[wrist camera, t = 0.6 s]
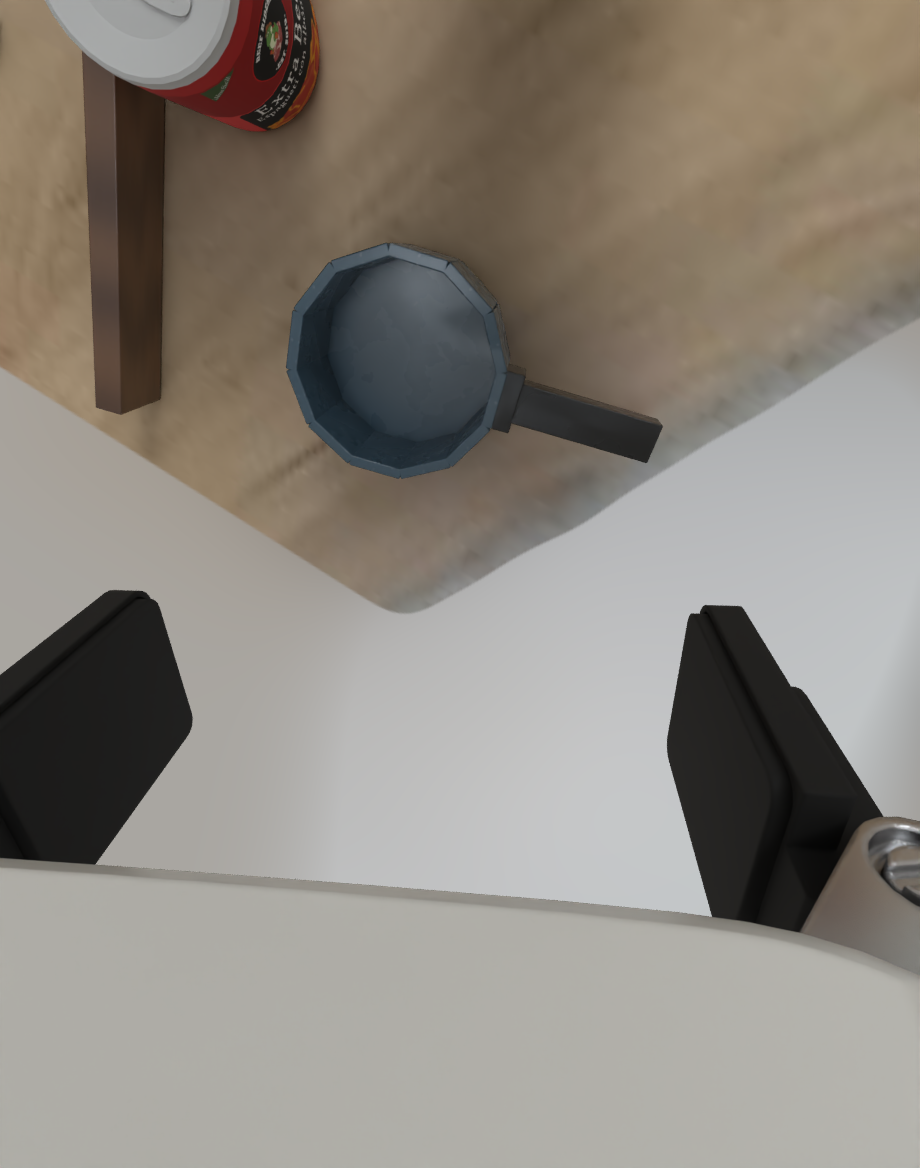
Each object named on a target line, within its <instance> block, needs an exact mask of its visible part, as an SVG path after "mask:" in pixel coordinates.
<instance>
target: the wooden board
mask: <svg viewBox="0 0 920 1168" xmlns="http://www.w3.org/2000/svg"><path fill="white" fill-rule="evenodd" d="M82 60H83V86H84V111H85V137H86V163H87V189H88V215H89V241H90V266H91V292H92V318H93V344H94V370H95V395H96V407H97V408H99V409H103V410H106V411H110V412H113V413H117V414H120V415H122V414H124V413H127V412H129V411H132V410H134V409H137V408H139V407H142V406H145V405H147V404H150V403H152V402H155V401H157V400H160V381H161V311H162V241H163V171H164V101H165V98H163V97H160V96H158V95H156V94H153V93H151V92H148V91H146V90H144V89H142V88H140V87H138V86H136V85H133V84H131V83H129V82H127V81H125V80H123V79H121V78H119V77H117V76H115V75H114V74H112V73H111V72H110V71H108V70H106V69H105V68H103V67H102V66H101V65H99V64H98V63H97V62H95V61H94V60H93V59H91V58H90V57H89V56H87V55H86V54H85V53H84V52H83V51H82Z"/></svg>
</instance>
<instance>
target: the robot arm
mask: <svg viewBox="0 0 920 1168" xmlns="http://www.w3.org/2000/svg"><path fill="white" fill-rule="evenodd" d="M191 727H192V713H191V709H190V706H189V703H188V699H187V696H186V693H185V689H184V687H183V683H182V680H181V676H180V673H179V670H178V666H177V663H176V660H175V657H174V654H173V650H172V647H171V644H170V640H169V637H168V634H167V630H166V628H165V624H164V620H163V617H162V614H161V611H160V607H159V606H158V603H157V602H156V601H155V600H153V599H150V597H149V595H148V594H147V593H145V592H143V591H123V590H110V591H108V592H106V593H104V594H103V595H102V596H100V597H99V598H98V599H97V600H95V601H94V602H93V603H92V604H90V605H89V606H88V607H86V608H85V609H84V610H82V611H81V612H80V613H79V614H77V615H76V616H75V617H74V618H72V619H71V620H70V621H68V622H67V623H66V624H65V625H63V626H62V627H61V628H60V629H58V630H57V631H56V632H54V633H53V634H52V635H51V636H49V637H48V638H47V639H46V640H44V641H43V642H42V643H40V644H39V645H38V646H37V647H35V648H34V649H33V650H32V651H30V652H29V653H28V654H26V655H25V656H24V657H22V658H21V659H20V660H19V661H17V662H16V663H15V664H14V665H12V666H11V667H10V668H9V669H7V670H6V671H5V672H3V673H2V674H1V675H0V1168H920V821H916V820H911V819H906V818H901V817H883V815H882V814H881V812H880V810H879V809H878V807H877V806H876V804H875V802H874V801H873V799H872V798H871V796H870V795H869V793H868V791H867V790H866V788H865V787H864V785H863V784H862V782H861V780H860V779H859V777H858V776H857V774H856V773H855V771H854V770H853V768H852V766H851V765H850V763H849V762H848V760H847V758H846V757H845V755H844V754H843V752H842V750H841V749H840V747H839V746H838V744H837V743H836V741H835V740H834V738H833V736H832V735H831V733H830V732H829V730H828V728H827V727H826V725H825V724H824V722H823V721H822V719H821V718H820V716H819V714H818V713H817V711H816V710H815V708H814V707H813V705H812V703H811V702H810V700H809V699H808V697H807V695H806V694H805V693H804V692H803V691H802V690H801V689H799V688H797V687H791V686H790V684H789V683H788V681H787V679H786V678H785V676H784V674H783V673H782V671H781V670H780V668H779V666H778V664H777V663H776V661H775V660H774V658H773V656H772V655H771V653H770V651H769V650H768V648H767V647H766V645H765V643H764V642H763V640H762V638H761V637H760V635H759V634H758V632H757V630H756V628H755V627H754V625H753V624H752V622H751V621H750V619H749V617H748V615H747V614H746V612H745V611H744V609H743V608H742V607H740V606H716V605H705V606H703V607H702V609H701V611H700V614H690V616H689V619H688V622H687V628H686V634H685V640H684V645H683V651H682V657H681V663H680V669H679V674H678V679H677V685H676V691H675V697H674V702H673V708H672V714H671V720H670V725H669V731H668V737H667V753H668V758H669V763H670V766H671V770H672V773H673V777H674V781H675V784H676V788H677V791H678V795H679V798H680V802H681V806H682V810H683V813H684V817H685V821H686V824H687V828H688V831H689V835H690V838H691V842H692V846H693V849H694V852H695V856H696V860H697V864H698V867H699V871H700V875H701V878H702V882H703V885H704V889H705V893H706V896H707V900H708V904H709V907H710V911H711V914H712V917H709V916H701V915H694V914H687V913H679V912H669V911H660V910H659V911H658V910H649V909H639V908H629V907H619V906H609V905H598V904H588V903H578V902H568V901H558V900H546V899H534V898H521V897H509V896H496V895H484V894H472V893H460V892H448V891H436V890H423V889H410V888H399V887H386V886H374V885H362V884H349V883H335V882H322V881H309V880H296V879H283V878H270V877H257V876H243V875H230V874H217V873H203V872H190V871H176V870H163V869H149V868H135V867H121V866H105V865H95V864H96V863H97V861H98V860H99V858H100V857H101V856H102V854H103V853H104V852H105V850H106V849H107V847H108V846H109V845H110V843H111V842H112V840H113V839H114V838H115V836H116V835H117V833H118V832H119V831H120V829H121V828H122V827H123V825H124V824H125V822H126V821H127V820H128V818H129V817H130V815H131V814H132V813H133V811H134V810H135V808H136V807H137V806H138V804H139V803H140V801H141V800H142V799H143V797H144V796H145V794H146V793H147V792H148V790H149V789H150V788H151V786H152V785H153V783H154V782H155V781H156V779H157V778H158V776H159V775H160V774H161V772H162V771H163V769H164V768H165V767H166V765H167V764H168V763H169V761H170V760H171V758H172V757H173V755H174V754H175V753H176V751H177V750H178V749H179V747H180V746H181V744H182V743H183V742H184V740H185V739H186V737H187V736H188V734H189V733H190V730H191Z"/></svg>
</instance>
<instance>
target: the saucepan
mask: <svg viewBox="0 0 920 1168" xmlns="http://www.w3.org/2000/svg"><path fill="white" fill-rule="evenodd" d="M497 302H498V301H497V300H496V299H495V298H494V296H493V295H492V294H491V293H490V292H489V291H488V290H487V288H486V287H485V286H484V284H483V283H482V282H481V281H480V280H479V279H478V278H477V277H476V276H475V275H474V274H473V273H472V271H471V270H470V269H469V268H468V267H467V266H466V265H465V263H464V262H463V261H460V259H457V258H454V257H451V256H447V255H444V254H441V253H438V252H435V251H431V250H428V249H425V248H421V247H418V246H415V245H411V244H400V243H384V244H381V245H377V246H374V247H371V248H368V249H365V250H362V251H359V252H356V253H353V254H349V255H346V256H343V257H340V258H337V259H334V260H332V261H331V262H329V263H328V264H327V265H326V266H325V268H324V269H323V270H322V272H321V273H320V274H319V275H318V277H317V278H316V279H315V281H314V282H313V283H312V285H311V286H310V287H309V289H308V290H307V291H306V292H305V294H304V295H303V296H302V298H301V299H300V300H299V302H298V303H297V304H296V305H295V307H294V309H295V310H293V312H292V320H291V329H290V338H289V347H288V355H287V364H286V368H287V369H289V370H287V374H288V376H289V379H290V381H291V384H292V387H293V389H294V392H295V395H296V397H297V400H298V403H299V405H300V408H301V410H302V413H303V416H304V418H305V421H306V423H307V424H309V428H311V429H312V430H313V431H314V432H315V433H316V434H317V435H318V436H319V437H320V438H321V439H322V440H323V441H324V442H325V443H327V444H328V445H329V446H330V447H331V448H332V449H333V450H334V451H335V452H336V453H337V454H338V455H339V456H340V457H341V458H343V459H344V460H345V461H346V462H347V463H349V462H350V465H353V466H356V467H360V468H363V469H367V470H370V471H374V472H377V473H380V474H384V475H387V476H391V477H394V478H398V479H399V478H400V477H401V479H403V478H408V477H412V476H416V475H421V474H425V473H429V472H434V471H438V470H442V469H447V468H450V466H454V465H455V464H456V463H457V462H458V461H459V460H460V459H461V458H462V457H463V456H464V455H465V454H466V453H467V452H468V451H469V450H470V449H471V448H472V447H474V446H475V445H476V444H477V443H478V442H479V441H480V440H481V439H482V438H483V437H484V436H485V435H486V434H487V433H488V432H489V431H490V428H492V429H495V430H498V431H502V432H505V433H508V432H509V430H510V426H511V423H512V424H516V425H519V426H523V427H526V428H529V429H533V430H536V431H539V432H543V433H546V434H550V435H553V436H556V437H560V438H563V439H567V440H570V441H573V442H577V443H580V444H583V445H587V446H590V447H594V448H597V449H600V450H604V451H607V452H610V453H614V454H617V455H621V456H624V457H627V458H631V459H634V460H638V461H641V462H644V463H647V462H648V460H649V457H650V455H651V453H652V450H653V448H654V446H655V444H656V441H657V439H658V437H659V434H660V432H661V430H662V428H663V426H662V424H661V423H660V422H659V420H658V419H656V418H652V417H649V416H646V415H642V414H639V413H636V412H632V411H629V410H626V409H622V408H619V407H616V406H612V405H609V404H605V403H602V402H599V401H595V400H592V399H589V398H585V397H582V396H579V395H575V394H572V393H569V392H565V391H562V390H559V389H555V388H552V387H549V386H545V385H542V384H539V383H535V382H532V381H529V380H525V378H526V369H525V368H522V367H518V366H515V365H511V364H509V362H510V352H509V347H508V343H507V338H506V332H505V327H504V324H503V320H502V315H501V310H500V306H499V304H497Z"/></svg>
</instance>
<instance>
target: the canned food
mask: <svg viewBox="0 0 920 1168" xmlns="http://www.w3.org/2000/svg"><path fill="white" fill-rule="evenodd" d="M45 1H46V3H47V5H48V7H49V9H50V10H51V12H52V14H53V16H54V17H55V18H56V20H57V21H58V23H59V24H60V25H61V27H62V28H63V29H64V31H65V32H66V33H67V35H68V36H69V37H70V38H71V39H72V40H73V41H74V42H75V44H76V45H77V46H78V47H79V48H80V49H81V50H82V51H83V52H84V53H85V54H86V55H87V56H89V57H90V58H91V59H93V60H94V61H95V62H97V63H98V64H99V65H101V66H102V67H103V68H105V69H106V70H108V71H110V72H111V73H112V74H114V75H115V76H117V77H119V78H121V79H123V80H125V81H127V82H129V83H131V84H133V85H136V86H138V87H140V88H142V89H144V90H146V91H148V92H151V93H153V94H156V95H158V96H160V97H163V98H165V99H168V100H170V101H173V102H175V103H177V104H180V105H182V106H185V107H187V108H190V109H192V110H194V111H197V112H199V113H202V114H204V115H207V116H209V117H211V118H214V119H216V120H219V121H221V122H223V123H226V124H228V125H231V126H233V127H236V128H239V129H243V130H247V131H267V130H271V129H275V128H278V127H280V126H282V125H283V124H285V123H287V122H289V121H290V120H292V119H293V118H294V117H295V116H296V115H297V114H298V113H299V112H300V111H301V110H302V109H303V107H304V106H305V104H306V103H307V101H308V100H309V98H310V96H311V93H312V91H313V89H314V86H315V83H316V79H317V74H318V69H319V54H320V47H319V37H318V27H317V23H316V19H315V15H314V11H313V7H312V4H311V1H310V0H45Z"/></svg>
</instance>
